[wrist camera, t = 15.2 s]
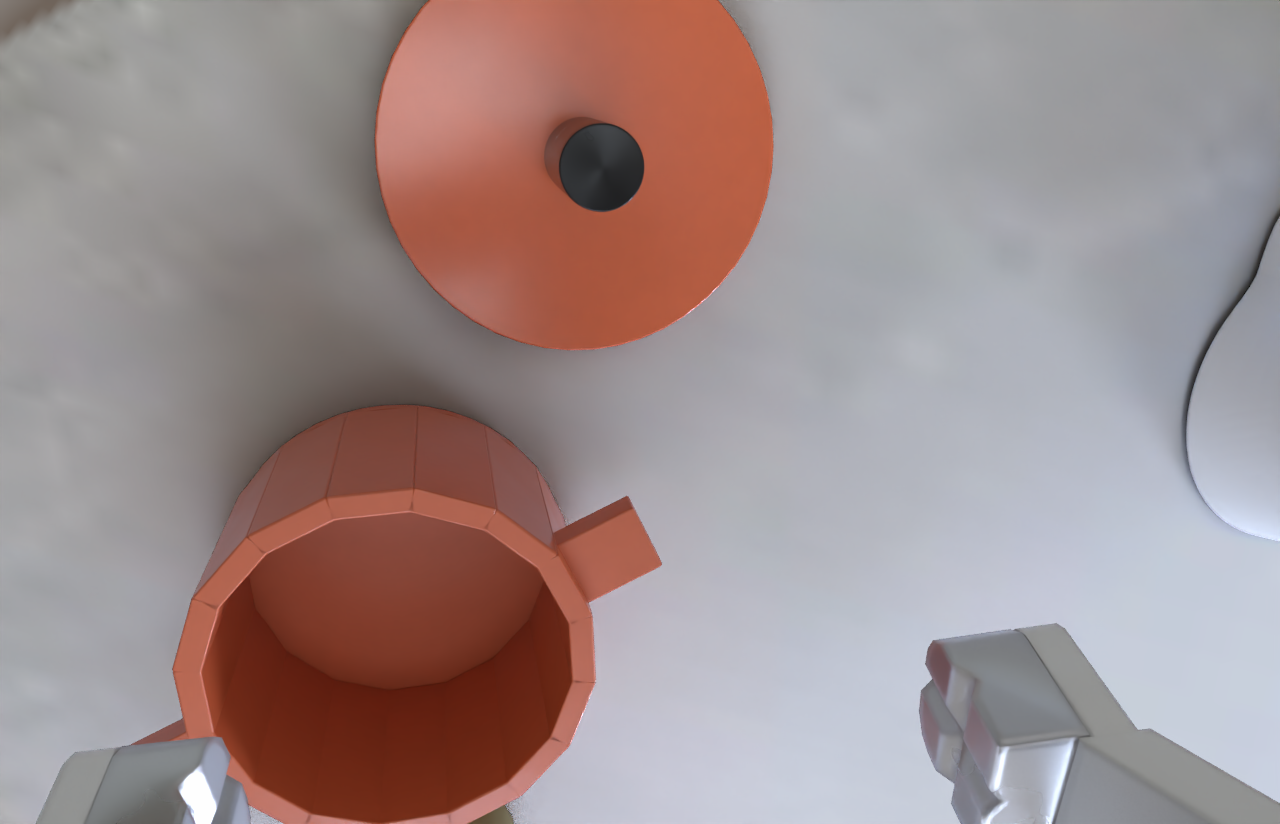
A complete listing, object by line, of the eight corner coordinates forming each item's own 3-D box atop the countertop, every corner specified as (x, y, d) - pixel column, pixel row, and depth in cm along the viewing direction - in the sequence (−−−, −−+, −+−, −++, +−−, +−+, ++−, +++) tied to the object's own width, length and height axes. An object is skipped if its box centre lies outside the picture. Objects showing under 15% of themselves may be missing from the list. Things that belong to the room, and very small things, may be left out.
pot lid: (296, 51, 31) (270, 47, 26) (672, -134, 32) (718, -172, 27) (494, 403, 36) (504, 457, 31) (815, 240, 37) (875, 267, 32)
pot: (89, 534, 35) (-3, 659, 28) (538, 313, 36) (566, 377, 28) (279, 777, 40) (244, 938, 32) (672, 578, 40) (726, 692, 33)
